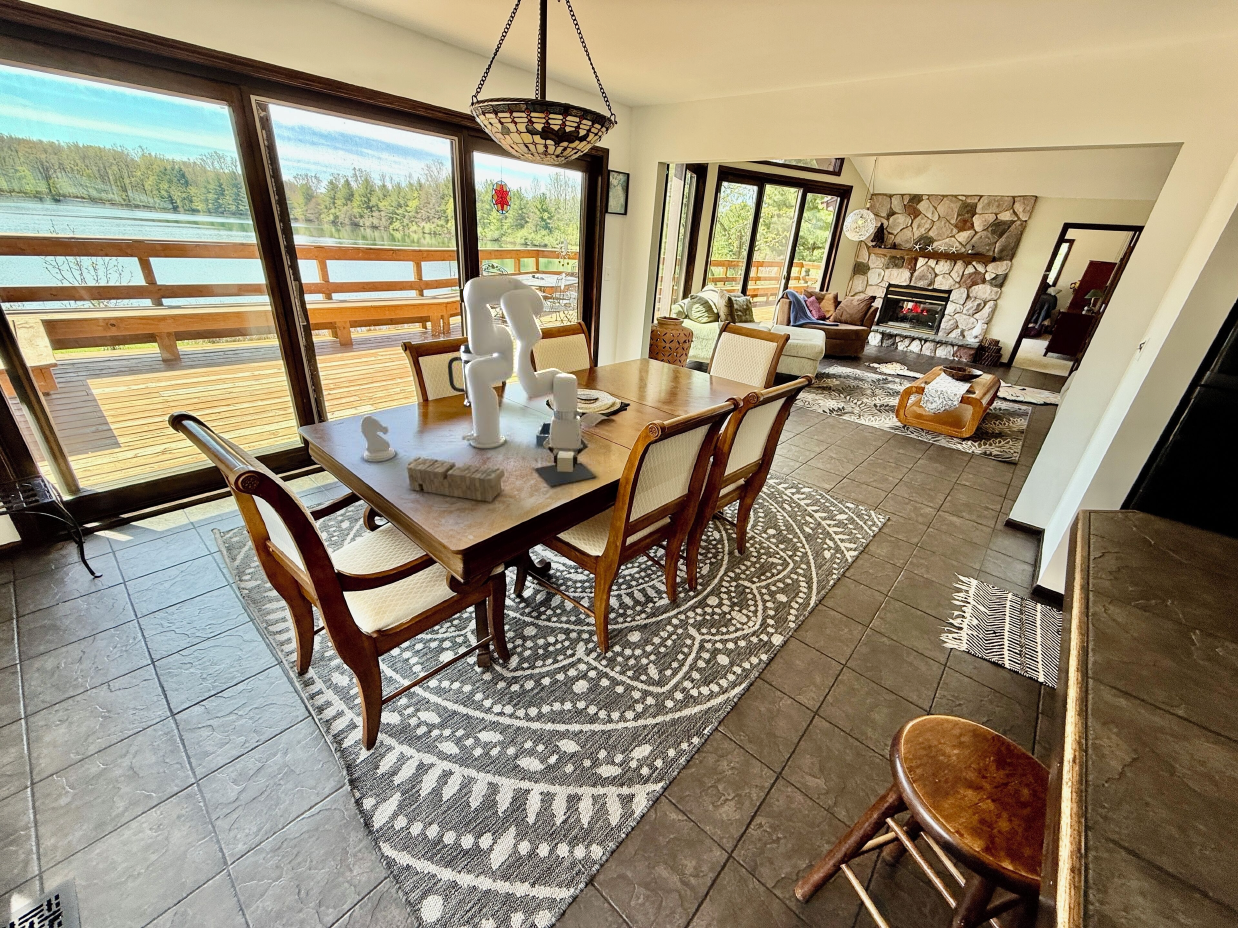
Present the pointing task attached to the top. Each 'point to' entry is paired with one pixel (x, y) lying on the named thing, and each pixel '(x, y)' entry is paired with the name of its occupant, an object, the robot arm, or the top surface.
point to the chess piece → (375, 440)
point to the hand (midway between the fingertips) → (565, 465)
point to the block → (565, 461)
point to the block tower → (455, 479)
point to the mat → (564, 475)
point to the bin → (543, 433)
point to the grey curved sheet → (592, 418)
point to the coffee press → (465, 359)
